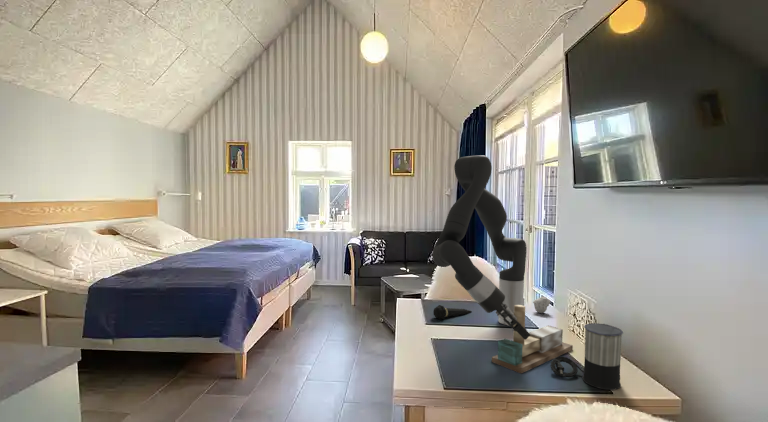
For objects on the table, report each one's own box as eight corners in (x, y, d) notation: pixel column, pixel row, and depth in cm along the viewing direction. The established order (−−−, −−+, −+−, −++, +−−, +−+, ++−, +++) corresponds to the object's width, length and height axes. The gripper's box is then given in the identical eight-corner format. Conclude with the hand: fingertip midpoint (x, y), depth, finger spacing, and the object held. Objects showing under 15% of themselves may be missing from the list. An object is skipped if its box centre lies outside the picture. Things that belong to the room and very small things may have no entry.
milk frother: (629, 390, 107) (631, 334, 106) (570, 391, 106) (572, 335, 105) (597, 367, 121) (598, 317, 120) (545, 368, 120) (546, 317, 119)
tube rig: (544, 340, 142) (544, 320, 142) (572, 349, 134) (573, 328, 134) (491, 361, 124) (492, 338, 124) (520, 373, 116) (521, 349, 116)
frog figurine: (550, 315, 171) (550, 299, 171) (532, 313, 174) (532, 297, 174) (549, 311, 177) (550, 295, 177) (532, 310, 180) (533, 294, 179)
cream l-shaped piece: (538, 343, 134) (539, 298, 133) (548, 346, 131) (549, 300, 130) (505, 356, 122) (506, 307, 122) (514, 360, 120) (516, 310, 119)
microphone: (467, 318, 177) (431, 320, 166) (466, 305, 178) (430, 305, 168) (476, 318, 172) (440, 319, 162) (475, 304, 174) (438, 304, 163)
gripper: (498, 290, 117) (542, 334, 116) (490, 279, 131) (529, 319, 130) (479, 308, 117) (522, 352, 117) (473, 295, 131) (511, 335, 131)
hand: (525, 334), depth 123 cm, fingers closed on cream l-shaped piece, 3 cm apart
